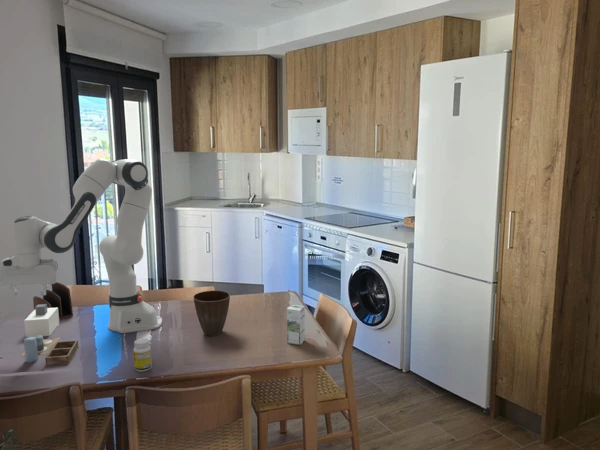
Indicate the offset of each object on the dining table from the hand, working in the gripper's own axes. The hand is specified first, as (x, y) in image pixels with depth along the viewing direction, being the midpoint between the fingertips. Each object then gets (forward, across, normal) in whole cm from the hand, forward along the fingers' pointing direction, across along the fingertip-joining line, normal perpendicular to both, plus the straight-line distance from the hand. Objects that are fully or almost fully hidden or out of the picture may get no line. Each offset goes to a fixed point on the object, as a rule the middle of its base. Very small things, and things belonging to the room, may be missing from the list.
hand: (30, 295), depth 197 cm
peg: (+22, -3, +12) cm, 25 cm away
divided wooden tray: (+21, -13, +10) cm, 27 cm away
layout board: (+21, -2, 0) cm, 22 cm away
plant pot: (+20, -68, -6) cm, 71 cm away
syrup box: (+20, -100, +10) cm, 103 cm away
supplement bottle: (+21, -44, +24) cm, 54 cm away
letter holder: (+22, +5, -43) cm, 49 cm away
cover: (+21, +2, -19) cm, 29 cm away
